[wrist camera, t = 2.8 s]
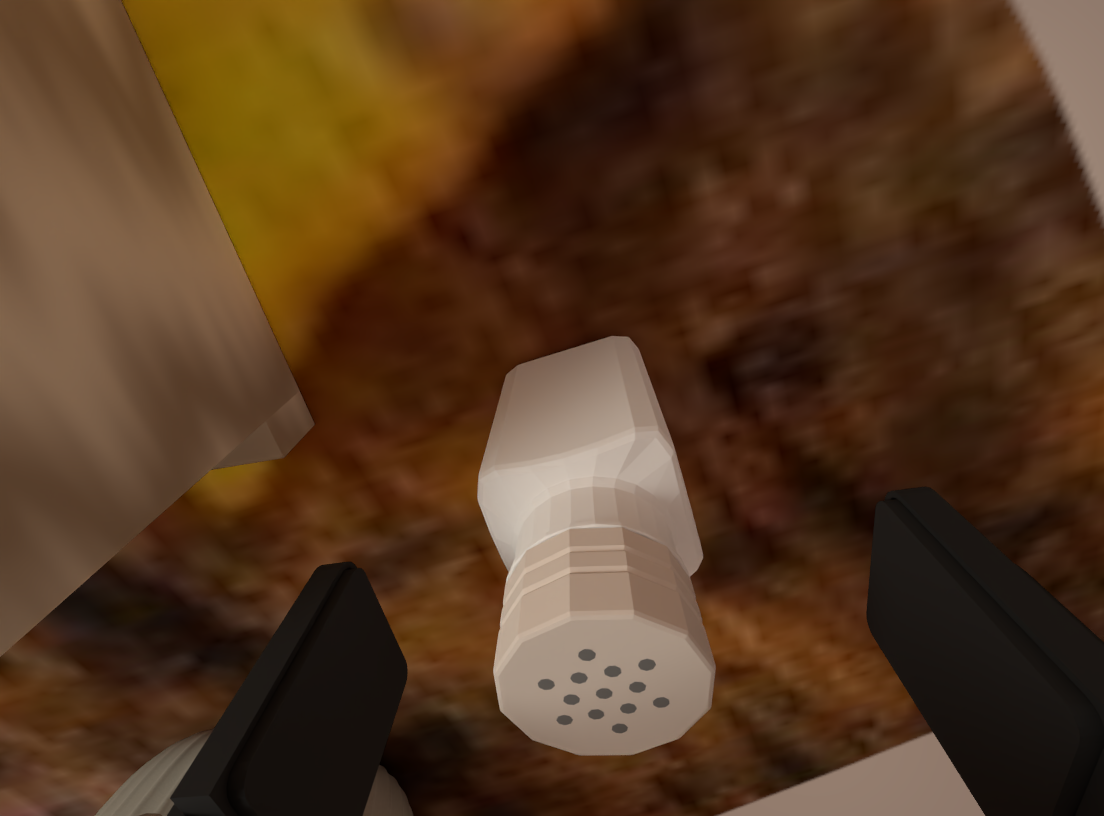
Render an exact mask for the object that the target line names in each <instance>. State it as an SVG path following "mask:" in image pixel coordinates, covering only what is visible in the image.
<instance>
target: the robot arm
mask: <svg viewBox="0 0 1104 816" xmlns="http://www.w3.org/2000/svg"><path fill="white" fill-rule="evenodd" d="M866 613H867V622H868V625H869V628H870V631H871V633H872V635H873V637H874V639H875V640H876V642H877V643H878V645H879V647H880V648H881V650H882V651H883V653H884V655H885V656H886V658H887V659H888V661H889V663H890V664H891V666H892V667H893V669H894V671H895V672H896V674H897V675H898V677H899V679H900V680H901V682H902V683H903V685H904V687H905V688H906V690H907V691H908V693H909V695H910V696H911V698H912V699H913V701H914V702H915V704H916V706H917V707H918V709H919V710H920V712H921V714H922V715H923V717H924V718H925V720H926V722H927V723H928V725H929V726H930V728H931V730H932V731H933V733H934V734H935V736H936V737H937V739H938V741H939V742H940V744H941V746H942V747H943V749H944V750H945V752H946V754H947V755H948V757H949V758H950V760H951V762H952V763H953V765H954V766H955V768H956V770H957V771H958V773H959V774H960V776H961V778H962V779H963V781H964V782H965V784H966V786H967V787H968V789H969V790H970V792H971V794H972V795H973V797H974V798H975V800H976V801H977V803H978V805H979V806H980V808H981V809H982V811H983V813H984V814H985V816H1104V642H1103V641H1102V640H1101V639H1099V638H1098V637H1097V636H1096V635H1095V634H1094V633H1093V632H1092V631H1091V630H1090V629H1088V628H1087V627H1086V626H1085V625H1084V624H1083V623H1082V622H1081V621H1080V620H1079V619H1078V618H1076V617H1075V616H1074V615H1073V614H1072V613H1071V612H1070V611H1069V610H1068V609H1067V608H1065V607H1064V606H1063V605H1062V604H1061V603H1060V602H1059V601H1058V600H1057V599H1056V598H1054V597H1053V596H1052V595H1051V594H1050V593H1049V592H1048V591H1047V590H1046V589H1045V588H1043V587H1042V586H1041V585H1040V584H1039V583H1038V582H1037V581H1036V580H1035V579H1034V578H1032V577H1031V576H1030V575H1029V574H1028V573H1027V572H1026V571H1024V570H1023V569H1022V568H1020V567H1019V566H1017V565H1016V564H1014V563H1013V562H1012V561H1011V560H1010V559H1008V558H1007V557H1006V556H1005V555H1004V554H1003V553H1002V552H1001V551H1000V550H999V549H998V548H996V547H995V546H994V545H993V544H992V543H991V542H990V541H989V540H988V539H987V538H986V537H984V536H983V535H982V534H981V533H980V532H979V531H978V530H977V529H976V528H975V527H974V526H972V525H971V524H970V523H969V522H968V521H967V520H966V519H965V518H964V517H963V516H962V515H961V514H959V513H958V512H957V511H956V510H955V509H954V508H953V507H952V506H951V505H950V504H949V503H947V502H946V501H945V500H944V499H943V498H942V497H941V496H940V495H939V494H938V493H937V492H935V491H934V490H933V489H931V488H929V487H918V488H911V489H903V490H895V491H890V492H888V493H887V495H886V497H885V501H880V502H878V503H877V505H876V509H875V520H874V532H873V543H872V555H871V566H870V578H869V589H868V601H867V612H866ZM406 680H407V663H406V660H405V658H404V656H403V654H402V651H401V649H400V647H399V645H398V643H397V641H396V638H395V636H394V634H393V632H392V630H391V628H390V625H389V623H388V621H387V619H386V617H385V615H384V612H383V610H382V608H381V606H380V604H379V602H378V599H377V597H376V595H375V593H374V591H373V589H372V587H371V584H370V582H369V580H368V578H367V576H366V574H365V572H364V570H363V569H361V568H357V567H356V566H355V564H353V563H352V562H342V563H334V564H327V565H321V566H319V567H318V568H317V569H316V570H315V571H314V573H313V574H312V576H311V578H310V579H309V581H308V582H307V584H306V585H305V587H304V588H303V590H302V592H301V593H300V595H299V596H298V598H297V599H296V601H295V603H294V604H293V606H292V607H291V609H290V610H289V612H288V614H287V615H286V617H285V618H284V620H283V621H282V623H281V625H280V626H279V628H278V629H277V631H276V632H275V634H274V635H273V637H272V639H271V640H270V642H269V643H268V645H267V646H266V648H265V650H264V651H263V653H262V654H261V656H260V657H259V659H258V661H257V662H256V664H255V665H254V667H253V668H252V670H251V672H250V673H249V675H248V676H247V678H246V679H245V681H244V683H243V684H242V686H241V687H240V689H239V690H238V692H237V693H236V695H235V697H234V698H233V700H232V701H231V703H230V704H229V706H228V708H227V709H226V711H225V712H224V714H223V715H222V717H221V719H220V720H219V722H218V723H217V725H216V726H215V728H214V730H213V731H212V733H211V734H210V736H209V737H208V739H207V740H206V742H205V744H204V745H203V747H202V748H201V750H200V751H199V753H198V755H197V756H196V758H195V759H194V761H193V762H192V764H191V766H190V767H189V769H188V770H187V772H186V773H185V775H184V777H183V778H182V780H181V781H180V783H179V784H178V786H177V788H176V789H175V791H174V792H173V794H172V795H171V797H170V799H171V800H172V802H173V803H174V805H173V806H172V808H171V809H170V811H169V813H168V814H167V816H363V813H364V810H365V807H366V804H367V801H368V798H369V795H370V792H371V789H372V786H373V782H374V779H375V776H376V773H377V770H378V767H379V764H380V761H381V758H382V755H383V752H384V749H385V746H386V743H387V740H388V736H389V733H390V730H391V727H392V724H393V721H394V718H395V715H396V712H397V709H398V706H399V703H400V700H401V697H402V693H403V690H404V687H405V684H406ZM139 816H162V815H161V814H156V813H145V814H142V815H139Z"/></svg>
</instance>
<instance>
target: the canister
mask: <svg viewBox="0 0 1104 816" xmlns="http://www.w3.org/2000/svg"><path fill="white" fill-rule="evenodd" d="M213 730H214V729H212V730H210V731H208V730H206V731H202V732H199V733H196V734H194V735H192V736H190V737H188V738H185V739H183V740H181V741H178V742H177V743H175V744H173V745H171V746H170V747H168V748H167V749H165V750H164V751H163V752H161V753H160V754H158V755H157V756H155V757H154V758H153V759H151V760H150V761H149V762H147V763H146V764H145V765H143V766H142V767H141V768H140V769H139V770H138V771H137V772H135V773H134V774H133V775H132V776H131V777H130V778H129V779H128V780H127V781H126V782H125V783H124V784H123V785H122V786H121V787H120V788H119V789H118V790H117V791H116V792H115V794H114V795H113V796H112V797H111V798H110V799H109V800H108V801H107V802H106V803H105V805H104V806H103V807H102V808H101V809H100V810H99V811H98V813H97V814H96V815H95V816H139V815H142V814H145V813H156V814H161V815H162V816H167V814H168V813H169V811H170V809H171V808H172V806H173V805H174V803H173V802H172V800H171V799H170V797H171V795H172V794H173V792H174V791H175V789H176V788H177V786H178V784H179V783H180V781H181V780H182V778H183V777H184V775H185V773H186V772H187V770H188V769H189V767H190V766H191V764H192V762H193V761H194V759H195V758H196V756H197V755H198V753H199V751H200V750H201V748H202V747H203V745H204V744H205V742H206V740H207V739H208V737H209V736H210V734H211V733H212V731H213ZM363 816H413V813H412V809H411V807H410V805H409V803H408V799H407V797H406V795H405V793H404V791H403V790H402V788H401V787H399V784H398V782H397V780H396V779H395V778H394V777H393V776H391V775H390V774H388V773H387V770H386V769H385V768H384V766H381V765H379V767H378V770H377V773H376V776H375V779H374V782H373V786H372V789H371V792H370V795H369V798H368V801H367V804H366V807H365V810H364V813H363Z"/></svg>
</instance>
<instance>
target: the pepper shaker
mask: <svg viewBox="0 0 1104 816" xmlns="http://www.w3.org/2000/svg"><path fill="white" fill-rule="evenodd" d="M477 498H478V502H479V505H480V508H481V510H482V513H483V516H484V518H485V521H486V524H487V526H488V529H489V531H490V534H491V536H492V538H493V541H494V543H495V545H496V547H497V549H498V552H499V554H500V556H501V558H502V560H503V562H504V564H505V566H506V568H507V570H508V572H509V574H508V576H507V579H506V585H505V592H504V599H503V606H504V607H503V608H502V613H501V620H500V628H501V629H500V631H499V634H498V641H497V648H496V655H495V662H494V669H493V672H494V678H495V684H496V690H497V695H498V701H499V707H500V710H501V712H502V713H503V714H504V715H506V716H507V717H508V718H509V719H510V720H511V721H512V722H513V723H514V724H515V725H517V726H518V727H519V728H520V729H521V730H522V731H523V732H524V733H525V734H526V735H527V736H529V737H530V738H531V739H532V740H534V741H537V742H540V743H543V744H546V745H549V746H552V747H555V748H559V749H562V750H565V751H568V752H571V753H574V754H577V755H633V754H636V753H639V752H642V751H645V750H648V749H651V748H653V747H656V746H659V745H662V744H665V743H668V742H671V741H674V740H676V739H679V738H680V737H681V736H683V735H684V734H685V733H686V732H687V731H688V730H689V729H690V728H691V727H692V726H693V725H694V724H695V723H696V722H697V721H698V720H699V719H700V718H701V717H702V716H703V715H704V714H705V713H706V712H707V711H708V710H709V709H710V708H711V703H712V694H713V686H714V677H715V669H716V666H715V662H714V659H713V656H712V652H711V649H710V645H709V642H708V638H707V635H706V631H705V628H704V626H703V625H702V617H701V614H700V610H699V607H698V604H697V603H696V597H695V593H694V590H693V586H692V582H691V579H690V576H691V575H692V574H693V573H694V572H696V571H697V569H698V567H699V565H700V563H701V561H702V559H703V552H702V548H701V544H700V540H699V536H698V532H697V529H696V525H695V521H694V517H693V513H692V509H691V506H690V502H689V498H688V495H687V491H686V487H685V484H684V480H683V477H682V473H681V469H680V466H679V462H678V459H677V455H676V452H675V448H674V445H673V442H672V439H671V436H670V434H669V431H668V428H667V425H666V423H665V420H664V417H663V414H662V412H661V409H660V406H659V403H658V401H657V398H656V395H655V392H654V390H653V387H652V384H651V381H650V378H649V376H648V373H647V370H646V367H645V365H644V362H643V359H642V356H641V354H640V351H639V349H638V347H637V346H636V345H635V344H634V343H633V341H632V340H631V339H630V338H629V337H626V336H625V337H621V336H610V337H607V338H604V339H600V340H597V341H594V342H591V343H587V344H584V345H581V346H578V347H574V348H571V349H568V350H565V351H561V352H558V353H555V354H552V355H548V356H545V357H542V358H539V359H535V360H532V361H529V362H526V363H522V364H519V365H517V366H516V367H515V368H514V369H512V370H511V371H510V372H509V373H507V374H506V377H505V381H504V384H503V388H502V392H501V395H500V399H499V402H498V406H497V410H496V413H495V417H494V421H493V424H492V428H491V431H490V435H489V439H488V442H487V446H486V450H485V453H484V457H483V461H482V464H481V468H480V471H479V476H478V495H477Z"/></svg>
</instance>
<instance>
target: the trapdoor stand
mask: <svg viewBox="0 0 1104 816" xmlns="http://www.w3.org/2000/svg"><path fill="white" fill-rule="evenodd" d="M314 425H315V424H314V421H313V419H312V417H311V415H310V413H309V410H308V408H307V406H306V404H305V402H304V399H303V397H302V395H301V393H300V391H299V389H298V386H297V384H296V382H295V380H294V378H293V375H292V373H291V371H290V369H289V367H288V364H287V362H286V360H285V358H284V356H283V354H282V351H281V349H280V347H279V345H278V343H277V340H276V338H275V336H274V334H273V332H272V329H271V327H270V325H269V323H268V321H267V319H266V316H265V314H264V312H263V310H262V308H261V305H260V303H259V301H258V299H257V297H256V294H255V292H254V290H253V288H252V286H251V284H250V281H249V279H248V277H247V275H246V273H245V270H244V268H243V266H242V264H241V262H240V259H239V257H238V255H237V253H236V251H235V249H234V246H233V244H232V242H231V240H230V238H229V235H228V233H227V231H226V229H225V227H224V224H223V222H222V220H221V218H220V216H219V213H218V211H217V209H216V207H215V205H214V203H213V200H212V198H211V196H210V194H209V192H208V189H207V187H206V185H205V183H204V181H203V178H202V176H201V174H200V172H199V170H198V168H197V165H196V163H195V161H194V159H193V157H192V154H191V152H190V150H189V148H188V146H187V143H186V141H185V139H184V137H183V135H182V133H181V130H180V128H179V126H178V124H177V122H176V119H175V117H174V115H173V113H172V111H171V108H170V106H169V104H168V102H167V100H166V98H165V95H164V93H163V91H162V89H161V87H160V84H159V82H158V80H157V78H156V76H155V73H154V71H153V69H152V67H151V65H150V63H149V60H148V58H147V56H146V54H145V52H144V49H143V47H142V45H141V43H140V41H139V38H138V36H137V34H136V32H135V30H134V28H133V25H132V23H131V21H130V19H129V17H128V14H127V12H126V10H125V8H124V6H123V3H122V1H121V0H0V656H1V655H3V654H4V653H5V652H6V651H7V650H8V649H9V648H11V647H12V646H13V645H14V644H15V643H16V642H17V641H18V640H20V639H21V638H22V637H23V636H24V635H25V634H26V633H27V632H29V631H30V630H31V629H32V628H33V627H34V626H35V625H36V624H38V623H39V622H40V621H41V620H42V619H43V618H44V617H45V616H47V615H48V614H49V613H50V612H51V611H52V610H53V609H54V608H56V607H57V606H58V605H59V604H60V603H61V602H62V601H63V600H65V599H66V598H67V597H68V596H69V595H70V594H71V593H72V592H74V591H75V590H76V589H77V588H78V587H79V586H80V585H81V584H83V583H84V582H85V581H86V580H87V579H88V578H89V577H91V576H92V575H93V574H94V573H95V572H96V571H97V570H98V569H100V568H101V567H102V566H103V565H104V564H105V563H106V562H107V561H109V560H110V559H111V558H112V557H113V556H114V555H115V554H116V553H118V552H119V551H120V550H121V549H122V548H123V547H124V546H125V545H127V544H128V543H129V542H130V541H131V540H132V539H133V538H134V537H136V536H137V535H138V534H139V533H140V532H141V531H142V530H143V529H145V528H146V527H147V526H148V525H149V524H150V523H151V522H152V521H154V520H155V519H156V518H157V517H158V516H159V515H160V514H161V513H163V512H164V511H165V510H166V509H167V508H168V507H169V506H171V505H172V504H173V503H174V502H175V501H176V500H177V499H178V498H180V497H181V496H182V495H183V494H184V493H185V492H186V491H187V490H189V489H190V488H191V487H192V486H193V485H194V484H195V483H196V482H198V481H199V480H200V479H201V478H202V477H203V476H204V475H205V474H207V473H208V472H209V471H210V470H213V469H219V468H225V467H231V466H237V465H243V464H249V463H255V462H261V461H267V460H274V459H280V458H284V457H285V456H286V455H287V454H288V453H289V452H290V451H291V450H292V449H293V447H294V446H295V445H296V444H297V443H298V442H299V441H300V440H301V439H302V438H303V437H304V436H305V435H306V434H307V432H308V431H309V430H310V429H311V428H312V427H313V426H314Z"/></svg>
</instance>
